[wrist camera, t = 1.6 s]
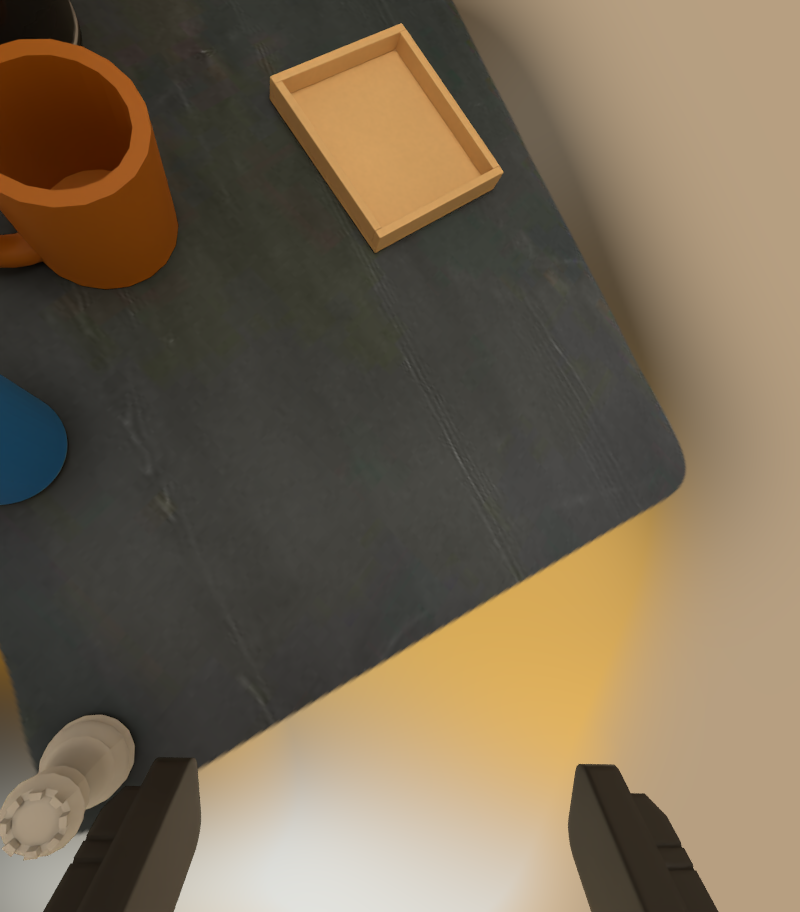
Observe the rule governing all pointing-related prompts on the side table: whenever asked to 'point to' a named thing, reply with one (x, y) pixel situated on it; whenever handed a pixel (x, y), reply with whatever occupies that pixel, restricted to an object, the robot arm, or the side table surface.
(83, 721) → the rook chess piece
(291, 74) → the tray
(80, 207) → the mug
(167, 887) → the robot arm
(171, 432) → the side table surface
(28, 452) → the beverage can
